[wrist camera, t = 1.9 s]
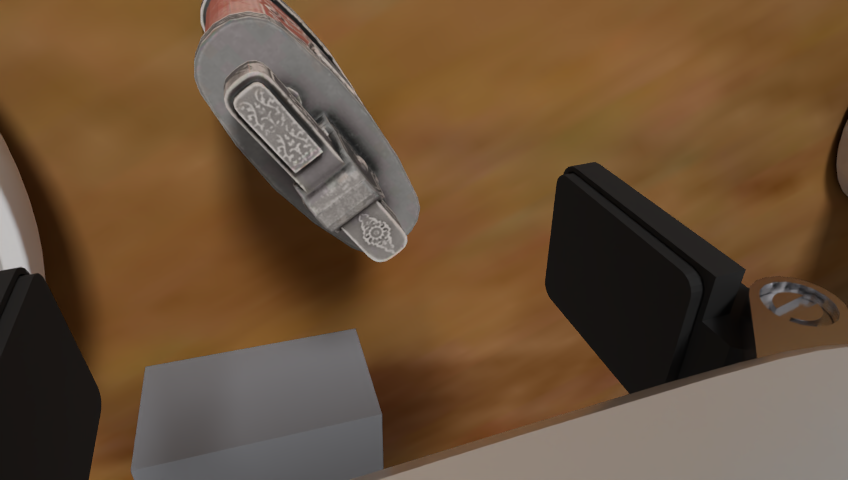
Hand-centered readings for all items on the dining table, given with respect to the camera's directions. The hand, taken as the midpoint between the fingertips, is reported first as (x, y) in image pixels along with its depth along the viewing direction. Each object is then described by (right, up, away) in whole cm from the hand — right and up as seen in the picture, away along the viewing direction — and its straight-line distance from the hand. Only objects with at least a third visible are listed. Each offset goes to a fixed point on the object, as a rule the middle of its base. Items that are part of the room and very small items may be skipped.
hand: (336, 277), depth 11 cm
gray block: (-7, -9, +20) cm, 23 cm away
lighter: (-3, +7, +11) cm, 14 cm away
